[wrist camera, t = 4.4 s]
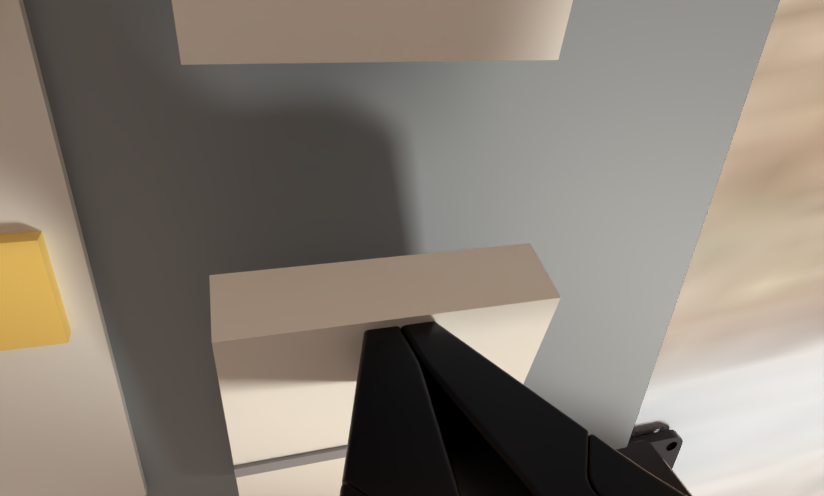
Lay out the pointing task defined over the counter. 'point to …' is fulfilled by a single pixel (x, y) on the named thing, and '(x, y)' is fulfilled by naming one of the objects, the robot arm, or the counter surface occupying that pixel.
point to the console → (330, 210)
